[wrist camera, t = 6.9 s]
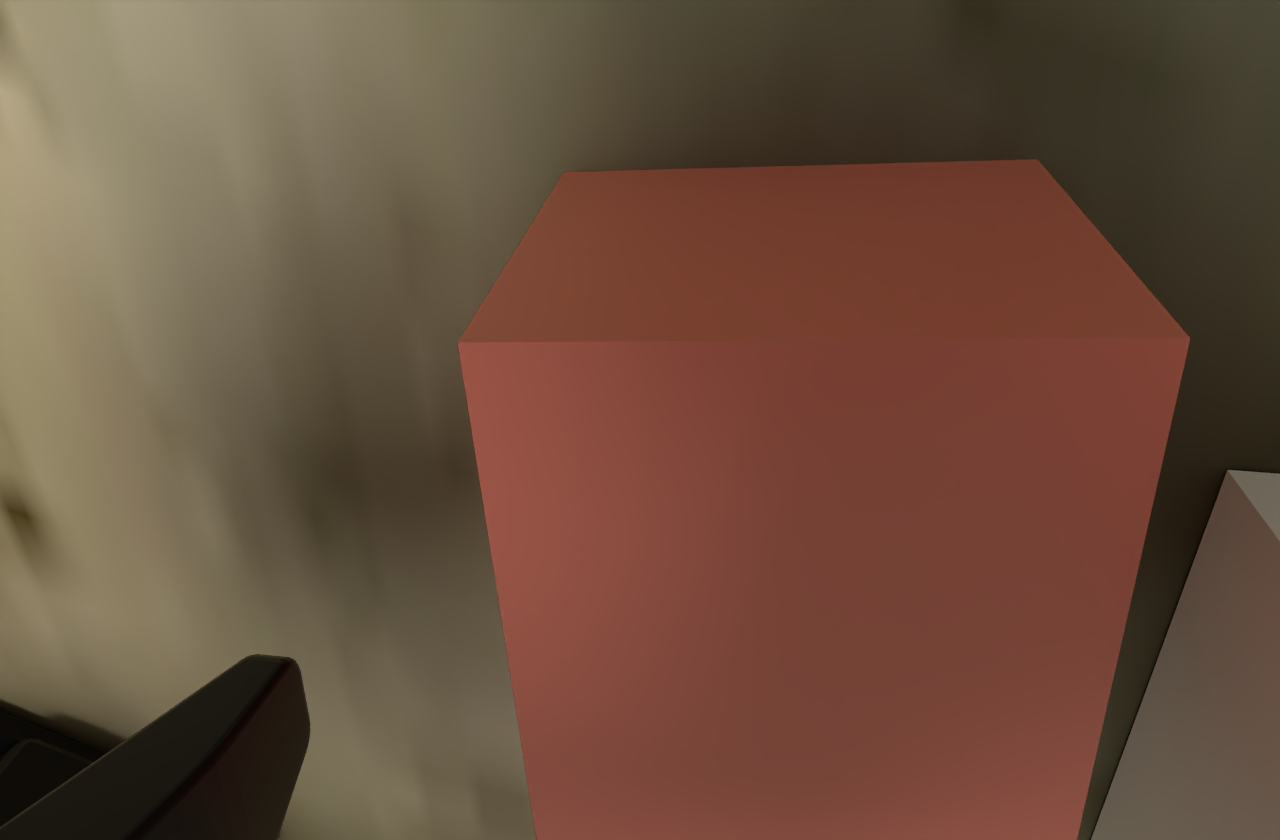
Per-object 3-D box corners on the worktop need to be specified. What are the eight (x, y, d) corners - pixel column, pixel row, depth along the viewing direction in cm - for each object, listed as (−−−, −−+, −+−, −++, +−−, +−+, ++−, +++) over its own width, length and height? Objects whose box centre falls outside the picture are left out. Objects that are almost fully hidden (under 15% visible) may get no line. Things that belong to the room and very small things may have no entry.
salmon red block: (972, 625, 15) (1054, 938, 11) (607, 615, 16) (547, 906, 11) (1034, 156, 12) (1190, 337, 7) (566, 169, 12) (457, 342, 8)
